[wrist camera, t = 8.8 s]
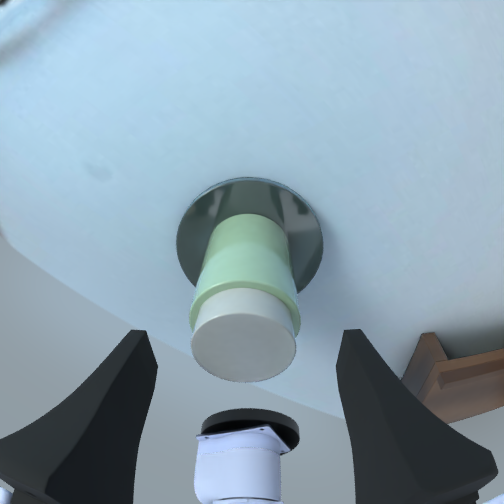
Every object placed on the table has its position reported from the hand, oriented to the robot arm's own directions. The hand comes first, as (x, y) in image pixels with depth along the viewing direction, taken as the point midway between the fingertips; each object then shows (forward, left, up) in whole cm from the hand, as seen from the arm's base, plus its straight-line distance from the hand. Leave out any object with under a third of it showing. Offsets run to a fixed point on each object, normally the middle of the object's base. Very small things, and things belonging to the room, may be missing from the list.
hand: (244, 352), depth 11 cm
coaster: (0, 0, -8) cm, 8 cm away
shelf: (+13, -18, -8) cm, 24 cm away
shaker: (0, 0, -7) cm, 7 cm away
